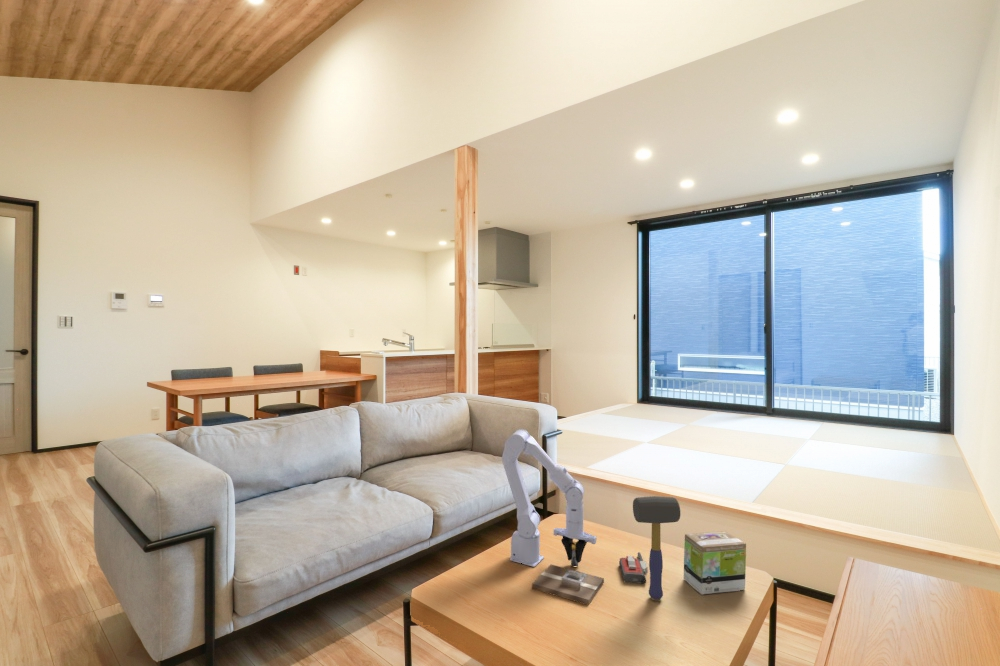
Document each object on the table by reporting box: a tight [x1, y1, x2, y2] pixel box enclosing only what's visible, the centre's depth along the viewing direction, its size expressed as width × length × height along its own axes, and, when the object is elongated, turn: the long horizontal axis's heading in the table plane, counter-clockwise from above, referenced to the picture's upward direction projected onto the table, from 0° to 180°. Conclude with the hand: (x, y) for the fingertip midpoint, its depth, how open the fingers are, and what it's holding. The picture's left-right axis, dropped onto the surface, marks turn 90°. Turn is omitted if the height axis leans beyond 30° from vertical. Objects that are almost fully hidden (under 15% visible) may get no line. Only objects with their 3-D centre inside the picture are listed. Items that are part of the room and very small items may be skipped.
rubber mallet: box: [632, 495, 681, 602], centre depth 143 cm, size 12×8×30 cm, turn 91°
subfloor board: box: [531, 564, 605, 606], centre depth 150 cm, size 18×14×2 cm
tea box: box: [683, 530, 747, 596], centre depth 151 cm, size 15×10×15 cm, turn 102°
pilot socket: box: [562, 569, 588, 590], centre depth 149 cm, size 6×6×2 cm
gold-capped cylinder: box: [570, 541, 579, 567], centre depth 163 cm, size 3×3×8 cm
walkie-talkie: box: [618, 551, 649, 584], centre depth 161 cm, size 9×4×20 cm
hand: (574, 560), depth 163 cm, fingers closed on gold-capped cylinder, 3 cm apart
